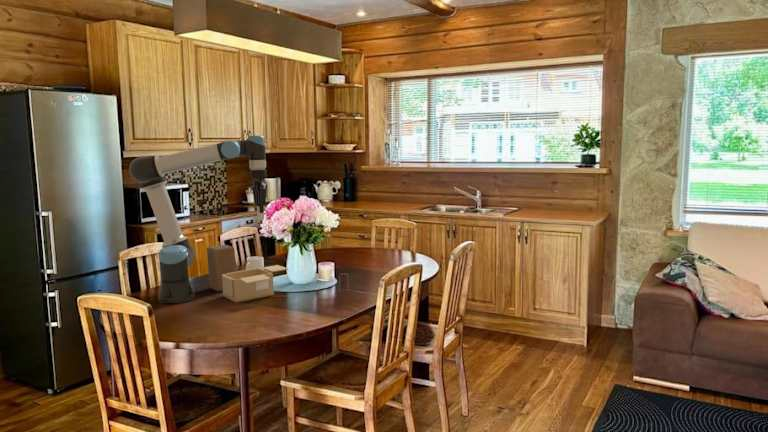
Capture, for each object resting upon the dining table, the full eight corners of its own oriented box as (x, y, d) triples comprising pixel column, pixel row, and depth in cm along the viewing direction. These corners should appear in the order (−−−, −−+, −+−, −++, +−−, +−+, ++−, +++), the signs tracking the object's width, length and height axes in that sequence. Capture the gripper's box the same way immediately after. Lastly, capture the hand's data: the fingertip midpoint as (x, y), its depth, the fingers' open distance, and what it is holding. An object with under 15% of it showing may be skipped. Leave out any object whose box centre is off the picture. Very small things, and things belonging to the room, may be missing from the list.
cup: (267, 276, 298) (266, 256, 296) (253, 281, 287) (252, 261, 286) (254, 275, 301) (253, 255, 300) (239, 280, 290) (238, 260, 289)
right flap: (287, 268, 267) (287, 269, 267) (277, 264, 275) (277, 266, 275) (271, 271, 262) (271, 272, 262) (262, 267, 270) (262, 268, 270)
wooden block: (237, 288, 275) (235, 246, 272) (217, 292, 269) (214, 249, 266) (228, 284, 283) (226, 244, 280) (208, 288, 276) (206, 246, 274)
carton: (234, 303, 250) (233, 280, 249) (220, 296, 262) (219, 274, 261) (274, 295, 261) (273, 273, 260) (259, 288, 273) (258, 267, 272)
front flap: (239, 278, 250) (239, 279, 250) (246, 282, 245) (246, 283, 245) (263, 274, 257) (263, 275, 257) (270, 278, 251) (270, 279, 251)
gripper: (271, 169, 266) (274, 220, 269) (259, 168, 276) (262, 217, 279) (256, 170, 261) (259, 221, 265) (244, 169, 272) (247, 219, 275)
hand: (260, 219), depth 272 cm, fingers closed
